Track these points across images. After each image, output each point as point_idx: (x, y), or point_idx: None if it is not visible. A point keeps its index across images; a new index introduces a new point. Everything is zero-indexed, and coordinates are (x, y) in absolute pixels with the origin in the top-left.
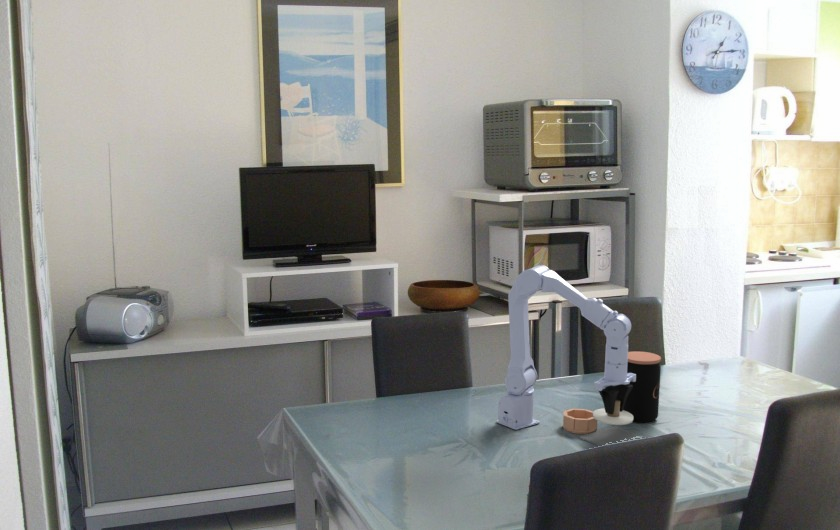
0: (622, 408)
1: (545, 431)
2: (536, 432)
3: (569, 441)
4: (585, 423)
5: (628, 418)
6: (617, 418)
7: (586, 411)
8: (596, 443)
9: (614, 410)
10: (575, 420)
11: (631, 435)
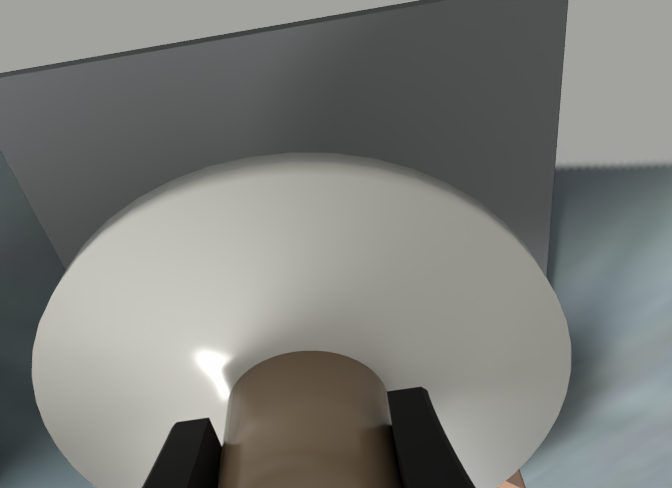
0: (181, 457)
1: (604, 462)
2: (660, 466)
3: (647, 305)
4: None
5: (186, 257)
6: (348, 310)
7: None
8: (553, 176)
9: (364, 439)
10: (519, 479)
11: (101, 194)
